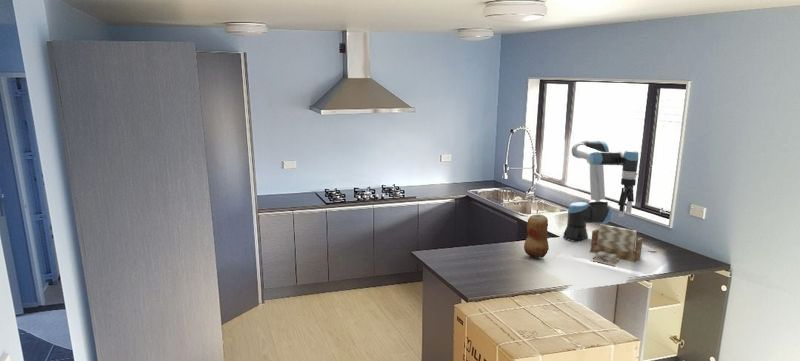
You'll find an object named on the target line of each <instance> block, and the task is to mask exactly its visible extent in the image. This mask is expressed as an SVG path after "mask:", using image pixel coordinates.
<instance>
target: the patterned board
mask: <svg viewBox="0 0 800 361" xmlns="http://www.w3.org/2000/svg"><path fill="white" fill-rule="evenodd" d="M598 229H599V234H598V245H597V246H602V247H606V248H611V249H615V250H620V251H624V252H629V253H633V254H634V251H635V241H636V240H637V230H634V229H628V228H624V227H619V226H612V225H608V224H604V223H601V224H600V223H599V226H598Z"/></svg>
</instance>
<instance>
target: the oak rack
mask: <svg viewBox="0 0 800 361" xmlns="http://www.w3.org/2000/svg"><path fill="white" fill-rule="evenodd" d="M598 234H599V228H596V229H593V230H592V232H591V242H590V250H589V251H588V252H589V253H593V254H595V255H596V254H597V253H598V252H600V251H601V252H606V253H611V254H616V259H619V260H623V261H627V262H632V263H637V262H638V261H639V260H640V259H642V250H641V248H642V244H643V238H642V237H638V238H636V245H635V251H634V254H633V253H629V252H624V251H620V250H615V249H611V248H606V247H602V246H597V245H598Z"/></svg>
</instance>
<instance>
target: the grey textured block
mask: <svg viewBox="0 0 800 361" xmlns="http://www.w3.org/2000/svg"><path fill="white" fill-rule="evenodd" d="M592 262H593V263H596V262H597V263H598V264H602V265H605V266H610V267H612V268H615V267H616V264H617V263H619V262H620V259H618V258H616V259H615V260H614V261H613V262H612V261H608V260H603V259H598V258H596V255H594V256H592Z"/></svg>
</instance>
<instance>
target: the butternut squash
mask: <svg viewBox="0 0 800 361" xmlns="http://www.w3.org/2000/svg"><path fill="white" fill-rule="evenodd" d="M548 220H549V219H548V217H547V216H546V215H543V214H538V213H537V214H532V215H530V216H529V217H528V219H527V224H526V231H527V237H526V239H525V241H524V244H523V250H524V252H525V253H526V255H528V256H529V257H530V258H532V259H537V260H538V259H539V258H544V257H545V256H546V255H547V254H548V252H549V250H550V248H549V241H548V226H549V223H548V222H549V221H548Z"/></svg>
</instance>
